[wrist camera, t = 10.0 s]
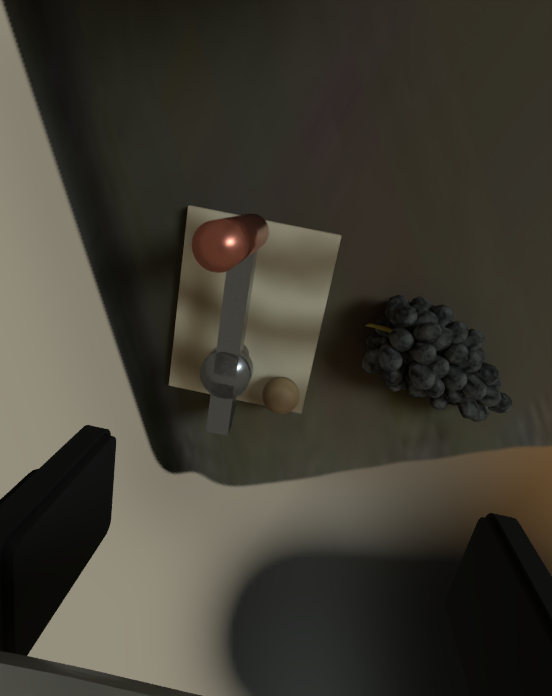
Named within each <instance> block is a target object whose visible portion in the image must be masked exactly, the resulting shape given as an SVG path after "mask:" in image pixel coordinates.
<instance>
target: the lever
mask: <svg viewBox="0 0 552 696" xmlns="http://www.w3.org/2000/svg"><path fill="white" fill-rule="evenodd" d="M268 237H269V227H268V225H267V223H266V221H265V220H264V219H263V218H262V217H261V216H259V215H257V214H245V215H239V216H234V217H228V218H222V219H216V220H210V221H207V222H205V223H203V224H202V225H200V226H199V227H198V228H197V230H196V231H195V233H194V235H193V238H192V251H193V255H194V257H195V259H196V261H197V262H198V263H199V264H200V265H201V266H202V267H203V268H204V269H206V270H208V271H211V272H216V273H221V272H226V278H225V286H224V293H223V301H222V309H221V317H220V325H219V333H218V341H217V347H216V348H214V349H213V350H212V351H211V352H210V353H209V355H208V356H207V357H206V359H205V360H204V361H203V363H202V365H201V368H200V379H201V382H202V384H203V386H204V388H205V389H206V390H207V391H208V392H209V393H210V394H211V396H210V404H209V412H208V419H207V427H206V432H211V433H216V434H221V435H226V436H228V433H229V431H230V428H231V426H232V420H233V416H234V413H235V408H236V401H237V398H236V397H237V396H239V395H241V394H242V393H243V392H244V391H245V390H246V388H247V387H248V384H249V382H250V379H251V377H252V374H253V363H252V360H251V358H250V357H249V355H248V354H247V353H246V352H245V351H244V350H243V346H244V340H245V333H246V326H247V319H248V313H249V306H250V299H251V292H252V286H253V279H254V272H255V266H256V259H257V252H258V249H259V248H260V247H262V246H263V245H264V244H265V243H266V241H267V240H268Z"/></svg>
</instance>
